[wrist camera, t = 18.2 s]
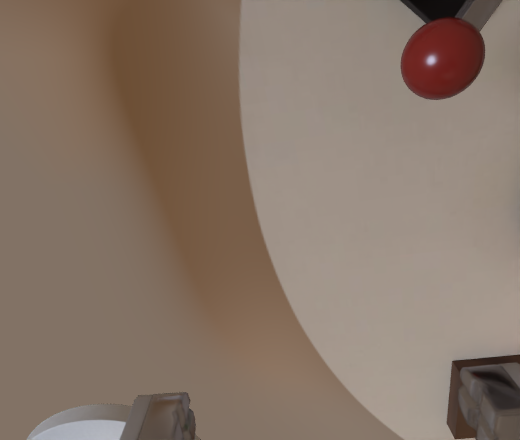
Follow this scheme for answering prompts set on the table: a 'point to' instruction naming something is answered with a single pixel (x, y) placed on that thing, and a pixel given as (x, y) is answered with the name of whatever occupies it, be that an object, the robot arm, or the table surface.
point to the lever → (447, 52)
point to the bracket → (434, 8)
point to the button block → (454, 413)
